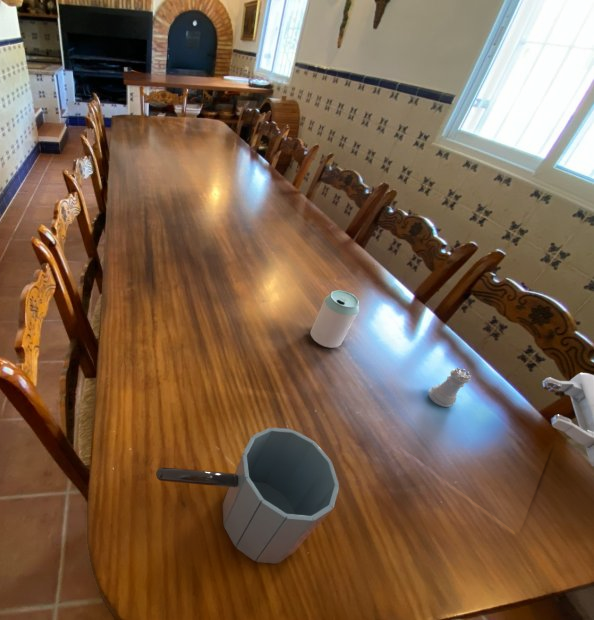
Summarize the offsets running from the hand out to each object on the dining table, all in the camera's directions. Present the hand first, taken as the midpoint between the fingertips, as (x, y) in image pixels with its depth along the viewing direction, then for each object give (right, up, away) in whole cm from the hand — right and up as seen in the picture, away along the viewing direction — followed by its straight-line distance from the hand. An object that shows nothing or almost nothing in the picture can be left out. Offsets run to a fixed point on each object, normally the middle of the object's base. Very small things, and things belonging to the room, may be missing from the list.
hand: (549, 400), depth 61 cm
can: (-29, +9, +22) cm, 37 cm away
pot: (-57, -15, -9) cm, 59 cm away
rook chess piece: (-11, -3, +11) cm, 15 cm away
